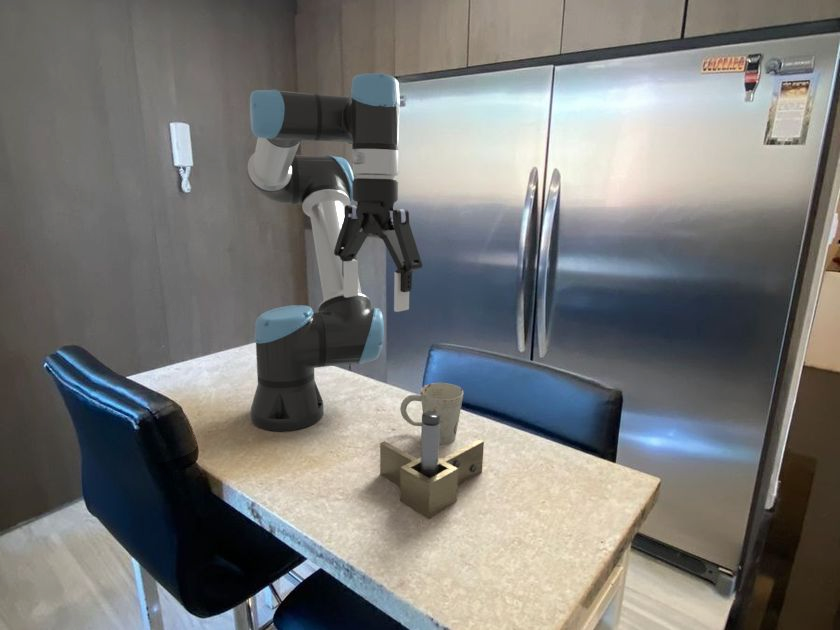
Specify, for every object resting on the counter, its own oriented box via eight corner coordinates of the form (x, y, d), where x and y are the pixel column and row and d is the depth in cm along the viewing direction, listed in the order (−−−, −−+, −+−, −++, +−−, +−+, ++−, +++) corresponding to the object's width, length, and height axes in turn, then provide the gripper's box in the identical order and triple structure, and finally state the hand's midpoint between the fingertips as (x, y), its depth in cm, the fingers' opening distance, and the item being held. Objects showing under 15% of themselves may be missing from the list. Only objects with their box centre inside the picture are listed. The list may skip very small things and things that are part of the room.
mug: (458, 449, 99) (460, 401, 97) (394, 441, 101) (395, 394, 99) (463, 430, 107) (465, 384, 104) (404, 423, 109) (405, 378, 107)
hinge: (368, 480, 88) (368, 448, 87) (434, 447, 100) (435, 418, 98) (428, 519, 79) (429, 484, 77) (494, 478, 90) (496, 446, 88)
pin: (415, 501, 83) (418, 415, 79) (427, 494, 85) (430, 410, 81) (428, 509, 81) (431, 421, 77) (440, 501, 83) (444, 416, 79)
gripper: (312, 175, 91) (316, 293, 97) (411, 178, 74) (408, 321, 80) (347, 176, 96) (348, 288, 102) (446, 179, 79) (442, 313, 85)
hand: (374, 303), depth 91 cm, fingers open, 13 cm apart
